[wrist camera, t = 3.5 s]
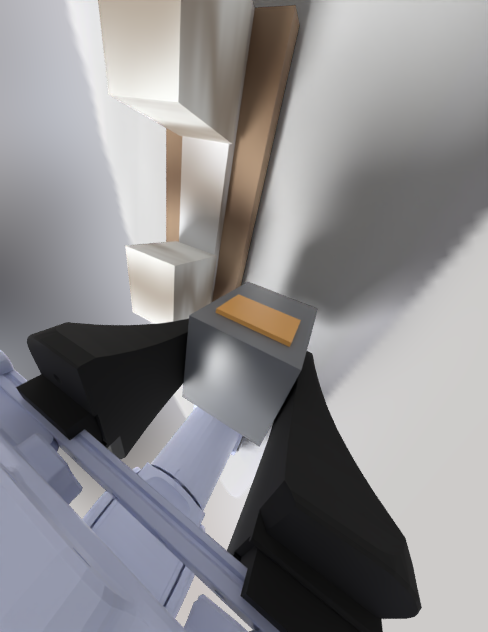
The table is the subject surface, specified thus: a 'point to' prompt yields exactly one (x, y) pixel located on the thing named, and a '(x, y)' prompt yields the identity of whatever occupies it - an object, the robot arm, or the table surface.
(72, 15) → the table surface
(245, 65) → the cream blocky elongated piece
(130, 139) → the table surface
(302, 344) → the block
